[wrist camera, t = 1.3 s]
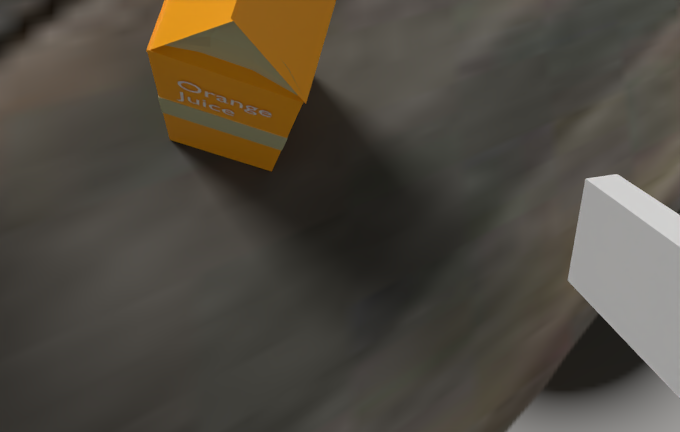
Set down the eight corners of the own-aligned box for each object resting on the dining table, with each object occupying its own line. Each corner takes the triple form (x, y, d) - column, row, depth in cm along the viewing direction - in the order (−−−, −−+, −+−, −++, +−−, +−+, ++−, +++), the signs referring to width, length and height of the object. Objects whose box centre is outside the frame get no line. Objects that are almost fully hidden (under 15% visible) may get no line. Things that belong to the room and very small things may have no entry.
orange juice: (167, 140, 39) (125, -17, 20) (205, 30, 41) (199, -211, 22) (274, 173, 41) (330, 56, 21) (305, 66, 42) (384, -132, 23)
